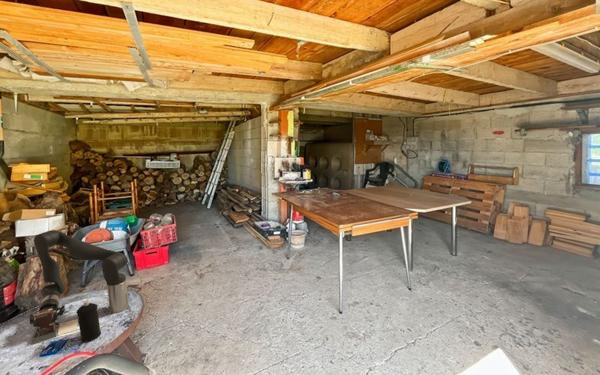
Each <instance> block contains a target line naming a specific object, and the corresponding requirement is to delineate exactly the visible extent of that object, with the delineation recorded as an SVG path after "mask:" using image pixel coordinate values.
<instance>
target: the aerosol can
mask: <svg viewBox="0 0 600 375" xmlns="http://www.w3.org/2000/svg"><path fill="white" fill-rule="evenodd" d="M75 312H76V314H77V319H78V325H79V326H78V327H79V331H80V341H81V342H82V343H90V342H93V341H95V340H97V339H98V338H99V337H101V335H102V331H101V327H100V326H101V325H100V320H99V312H98V304H96V303H94V302H90V301H89V300H88V299H87V300H84V301H83V304H82V305H81V306H79V307H78V309H77V310H76V311H75Z"/></svg>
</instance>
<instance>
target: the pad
mask: <svg viewBox="0 0 600 375" xmlns="http://www.w3.org/2000/svg"><path fill="white" fill-rule="evenodd" d="M78 325H79V321H78V318H76V319H72V320H69V321H66V322H62V323H59V325H58V332H57V337H58V336H62V335H65V334H68V333H72V332H74V331H77V330H78Z"/></svg>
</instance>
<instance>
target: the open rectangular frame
mask: <svg viewBox="0 0 600 375" xmlns="http://www.w3.org/2000/svg"><path fill="white" fill-rule="evenodd" d="M55 324H56V327H59V325H60V323H59V321H55ZM38 334H39V332H38V328H37V327H35V328H34V330H33V334H32V338H31V341H30V344H31V346H33V345H35V344H36V345H37V344H39V343H41V342H46V341H47V340H51V339H54V338H57V337H58V334H57V331H56V330H55V331H53V332H49V333H46V334H43V335H40V336H39V335H38Z"/></svg>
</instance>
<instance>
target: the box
mask: <svg viewBox="0 0 600 375" xmlns="http://www.w3.org/2000/svg"><path fill="white" fill-rule="evenodd" d="M35 314H36V316H35V318H36V322H37V327H36V328H38V336H40V335H43V334H46V333H49V332H53V331H56V328H57V326H56V324H55V322H56V321H55V322H53V315H54V312H53V308H49V309H44V310H41V311H39V310H38V311H36V313H35Z"/></svg>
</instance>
